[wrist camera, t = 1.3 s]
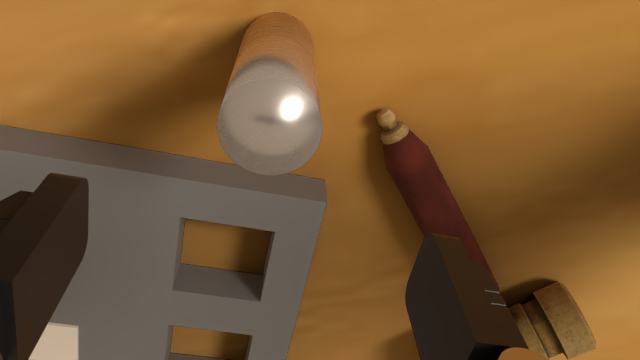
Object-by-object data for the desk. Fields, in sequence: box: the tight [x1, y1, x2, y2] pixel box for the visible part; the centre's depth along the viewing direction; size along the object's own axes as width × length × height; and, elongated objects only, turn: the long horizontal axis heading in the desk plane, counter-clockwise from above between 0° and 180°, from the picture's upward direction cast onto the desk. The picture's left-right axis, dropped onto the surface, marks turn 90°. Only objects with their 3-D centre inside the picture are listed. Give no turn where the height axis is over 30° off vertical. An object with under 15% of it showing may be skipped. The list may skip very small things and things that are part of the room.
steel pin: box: [217, 12, 322, 175], centre depth 23 cm, size 4×4×10 cm
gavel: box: [377, 108, 596, 360], centre depth 32 cm, size 21×5×10 cm
